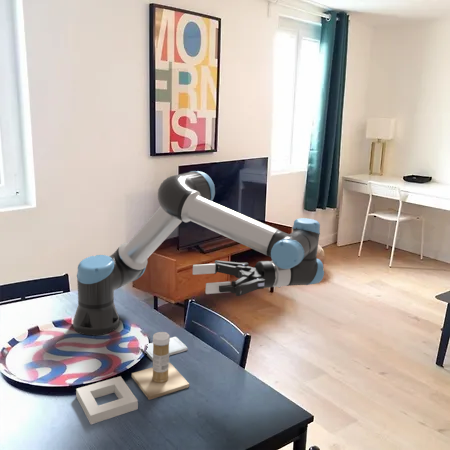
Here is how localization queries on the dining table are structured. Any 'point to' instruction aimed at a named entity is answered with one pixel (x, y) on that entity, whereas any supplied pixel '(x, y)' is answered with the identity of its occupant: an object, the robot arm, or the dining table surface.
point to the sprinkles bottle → (160, 356)
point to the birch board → (159, 389)
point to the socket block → (109, 409)
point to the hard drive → (174, 347)
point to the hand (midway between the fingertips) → (199, 278)
